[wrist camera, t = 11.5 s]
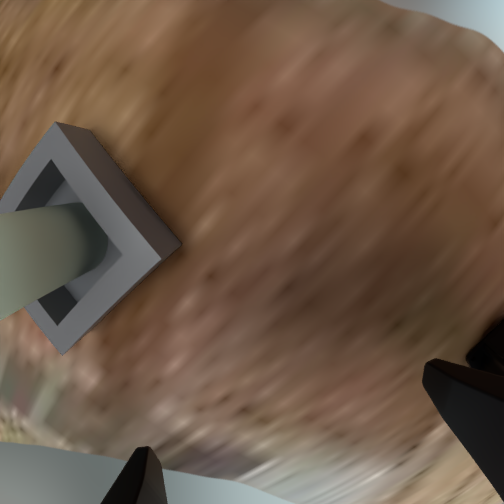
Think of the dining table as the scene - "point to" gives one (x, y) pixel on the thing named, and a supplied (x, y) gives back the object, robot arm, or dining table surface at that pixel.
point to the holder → (107, 216)
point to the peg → (46, 251)
